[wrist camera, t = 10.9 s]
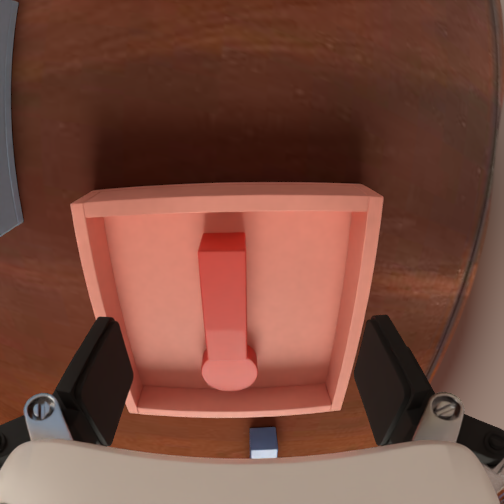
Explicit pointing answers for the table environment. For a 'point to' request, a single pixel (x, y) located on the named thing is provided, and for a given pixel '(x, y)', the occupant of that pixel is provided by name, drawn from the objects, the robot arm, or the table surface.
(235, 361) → the red spoon
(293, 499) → the robot arm
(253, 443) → the blue spoon
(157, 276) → the red tray
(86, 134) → the table surface
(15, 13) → the blue tray
